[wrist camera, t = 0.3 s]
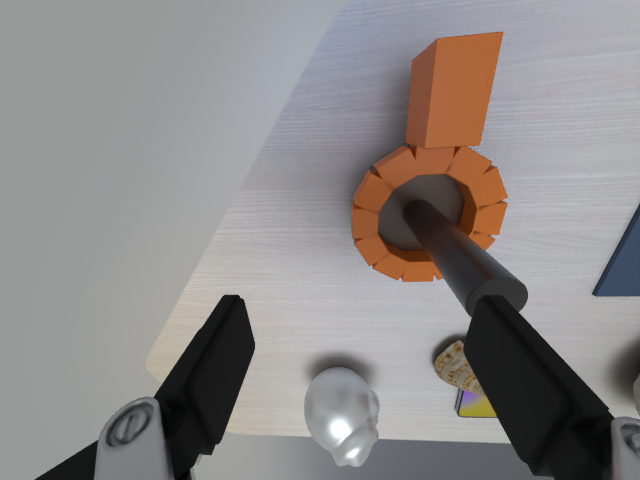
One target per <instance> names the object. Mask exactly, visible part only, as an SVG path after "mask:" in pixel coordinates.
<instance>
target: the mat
mask: <svg viewBox="0 0 640 480" xmlns="http://www.w3.org/2000/svg"><path fill="white" fill-rule="evenodd" d="M593 295H594V296H640V206H639V208H638V210H637V212H636V214H635V215H634V217H633V219H632V221H631V223H630V225H629V227H628V229H627V230H626V232H625V234H624V236H623V238H622V240H621V242H620V243H619V245H618V247H617V249H616V251H615V253H614V255H613V257H612V258H611V260H610V262H609V264H608V266H607V268H606V270H605V272H604V273H603V275H602V277H601V279H600V281H599V283H598V285H597V286H596V288H595V290H594V292H593Z"/></svg>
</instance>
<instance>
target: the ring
mask: <svg viewBox="0 0 640 480" xmlns="http://www.w3.org/2000/svg"><path fill="white" fill-rule="evenodd" d="M502 35H503V32H494V33H484V34H475V35H465V36H455V37H446V38H438V39H436V40H435V41H434V42H433V43H432V44H431V45H429V46H428V47H427V48H426V49H425V50H424V51H423V52H421V53H420V54H419V55H418V56H417V57H416V58H414V59H413V60H412V69H411V81H410V93H409V105H408V118H407V130H406V142H405V143H407V144H409V148H408V147H405V146H401V147H399V148H398V149H396V150H395V151H393V152H392V153H390V154H388V155H387V156H385V157H384V158H382V159H381V160H379V161H377V162H376V163H374V164H373V166H374V168H375V170H376V171H377V173H378V174H377V173H376V172H374V171H372V170H370V169H368V170H367V172H366V174H365V176H364V177H363V179H362V181H361V183H360V184H359V186H358V188H357V190H356V191H355V193H354V195H353V201H354V202H351V229H352V238H353V239H354V244H355V246H356V247H357V249H358V250H359V252H360V253H361V255H362V256H363V258H364V259H365V261H366V262H367V264H368V265H369V266H370V265H372V266H373V269H374V270H376V271H378V272H381V273H383V274H385V275H387V276H389V277H391V278H393V279H395V280H399V278H400V277H401V278H402V281H403V282H421V281H433V275H435V276H436V278H437V279H438V280H440V279H442V278H443V276H442V275H441V274H440V272H439V271H438V269H437V268H436V266H435V265H434V263H433V262H432V260H431V259H430V257H429V256H428V254H427V253H426V251H425V250H421V251H402V250H400V249H398V248H396V247H394V246H392V245H390V244H388V243H386V242H385V241H384V240H383V238H382V236H381V235H380V233H379V231H378V222H379V211H380V210H381V208H382V207H383V205H384V203H385V202H386V200H387V199H388V197H389V196H390V194H391V193H392V191H393V190H394V189H395V188H397V187H399V186H401V185H402V184H404V183H406V182H407V181H409V180H411V179H413V178H414V177H416V176H418V175H436V174H445V175H447V176H449V177H450V178H452V179H454V180H456V182H457V184H458V186H459V189H460V191H461V193H462V195H463V198H464V200H465V202H464V207H463V212H462V217H461V222H460V223H459V225H458V226H457V227H458V228H459V229H461V230H462V231H463V232H464V233H465V234H466V235H467V236H469V237H470V238H471V239H472V240H473V241H474V242H476V243H477V244H478V245H479V246H480V247H481V248H482V249H484V250H486V249H487V248H488V247H489V246H490V245H491V244H492V243H493V242H494V241H495V239H494V238H493V237H491V236H490V235H498V234H499V231H500V228H501V224H502V221H503V217H504V214H505V210H506V207H507V203H506V202H504V201H502V200H503V199H505V198H507V194H506V191H505V189H504V186H503V183H502V180H501V177H500V175H499V172H498V169H497V167H495V166H492V165H491V163H492V162H491V161H490V160H488V159H487V158H485V157H483V156H482V155H480V154H478V153H476V152H475V151H473V150H471V149H470V148H468V147H466V146H477V145H480V141H481V136H482V131H483V126H484V122H485V117H486V112H487V107H488V102H489V98H490V93H491V88H492V83H493V78H494V74H495V69H496V64H497V59H498V54H499V50H500V45H501V40H502Z"/></svg>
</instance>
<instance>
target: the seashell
mask: <svg viewBox="0 0 640 480" xmlns="http://www.w3.org/2000/svg"><path fill="white" fill-rule="evenodd" d="M463 346H464V343H463V342H462V341H460V340H458V341H456V342H454V343H453V344H451V345H450V346H449V347H448V348H446V349H445V351H444V352H443V353H441V354H440V355H439V356H438V358H437V359H436V361H435V365H434V369H435V372H436V373H437V375H438V376H439V377H440V378H441V379H442V380H443V381H445V382H447V383H448V384H450V385H452V386H455V387H458V388H460V389H462V390H464V391H468V392H471V393H473V394H477V395H482V396H486V395H485V393H484V391H483V389H482V387H481V386H480V384H479V382H478V380H477V378H476V376H475V374H474V373H473V371H472V369H471V367H470V365H469V363H468V361H467V359H466V358H465V355H464V352H463Z"/></svg>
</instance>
